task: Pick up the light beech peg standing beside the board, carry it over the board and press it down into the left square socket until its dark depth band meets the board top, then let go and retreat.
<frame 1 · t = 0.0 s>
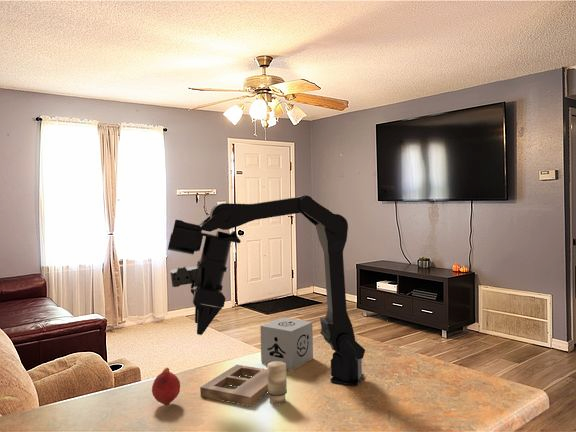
hand: (198, 328, 101), 15 cm above the kitchen counter, tool pointing down, fingers open, 9 cm apart
onion: (166, 405, 98), on the kitchen counter
icon cube: (287, 361, 123), on the kitchen counter
board: (243, 387, 106), on the kitchen counter
peg: (277, 401, 99), on the kitchen counter
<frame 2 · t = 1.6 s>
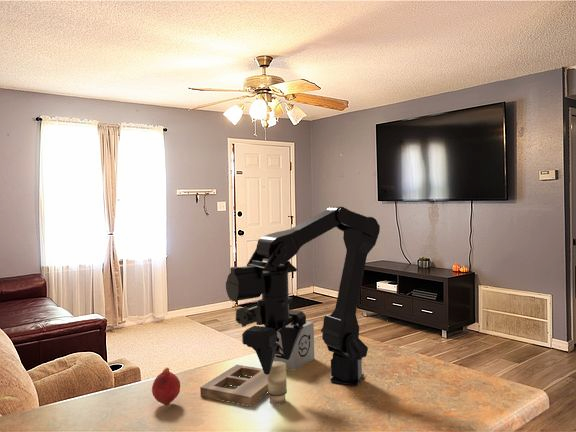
hand: (277, 366, 99), 8 cm above the kitchen counter, tool pointing down, fingers open, 9 cm apart
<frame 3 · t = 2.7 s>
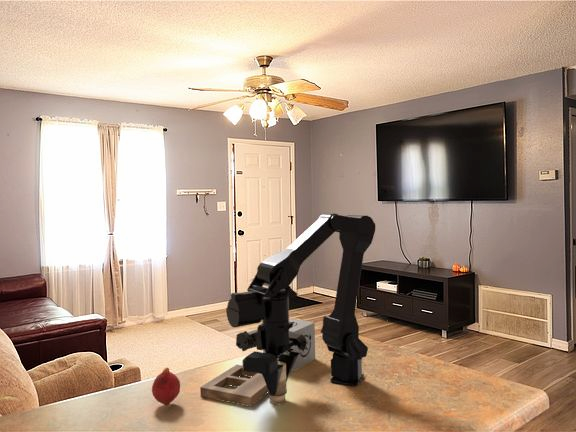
hand: (277, 390, 99), 2 cm above the kitchen counter, tool pointing down, fingers closed on peg, 4 cm apart
peg: (277, 401, 99), on the kitchen counter, touching gripper
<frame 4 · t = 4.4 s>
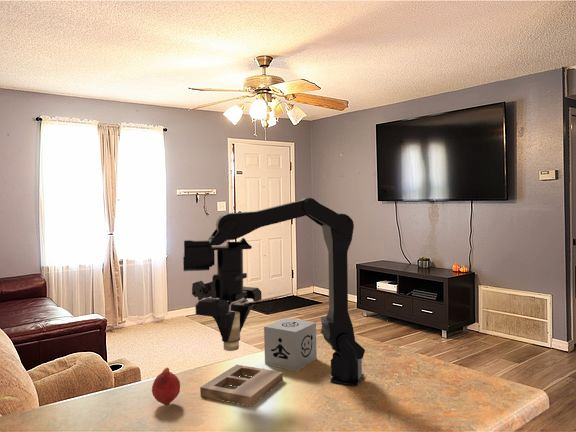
hand: (231, 338, 103), 12 cm above the kitchen counter, tool pointing down, fingers closed on peg, 4 cm apart
peg: (231, 348, 103), point 10 cm above the kitchen counter, touching gripper
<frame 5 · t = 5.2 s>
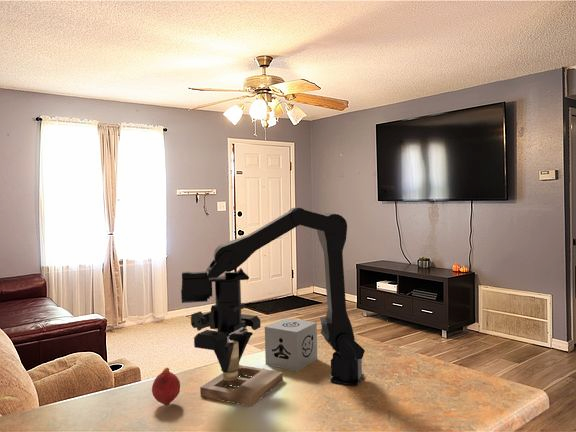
hand: (230, 368, 104), 5 cm above the kitchen counter, tool pointing down, fingers closed on peg, 4 cm apart
peg: (230, 377, 104), point 3 cm above the kitchen counter, touching gripper
when the fingers open (3 cm above the kitchen counter, at t = 6.0 s): peg stays where it is, resting in board.
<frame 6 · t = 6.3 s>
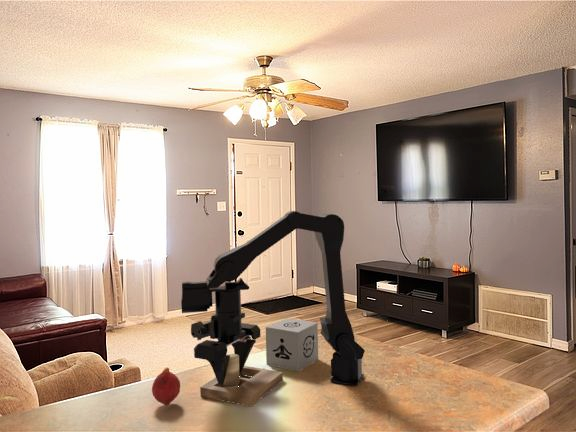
hand: (230, 378, 104), 3 cm above the kitchen counter, tool pointing down, fingers open, 7 cm apart
peg: (230, 391, 104), resting in board
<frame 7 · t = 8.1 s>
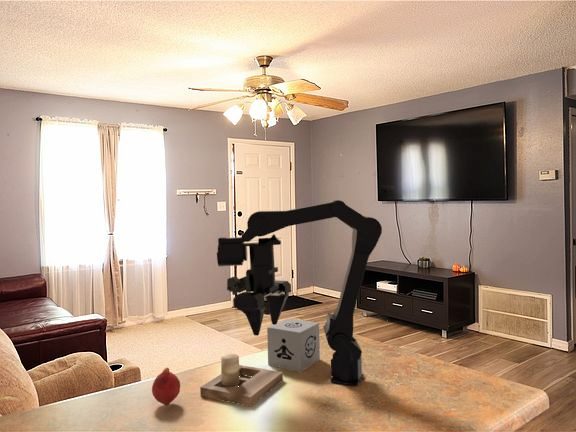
hand: (265, 329, 109), 13 cm above the kitchen counter, tool pointing down, fingers open, 9 cm apart
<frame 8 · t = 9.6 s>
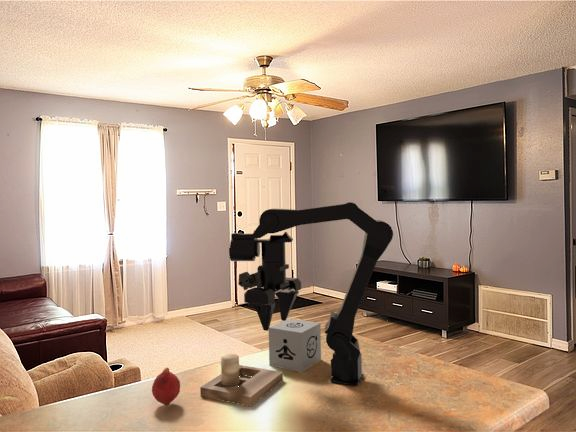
hand: (275, 325, 111), 13 cm above the kitchen counter, tool pointing down, fingers open, 9 cm apart
at the end: peg 0.1 cm from the target spot on the board, point 0.0 cm above the board's base; peg tilted 0°; the gripper is holding nothing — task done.
